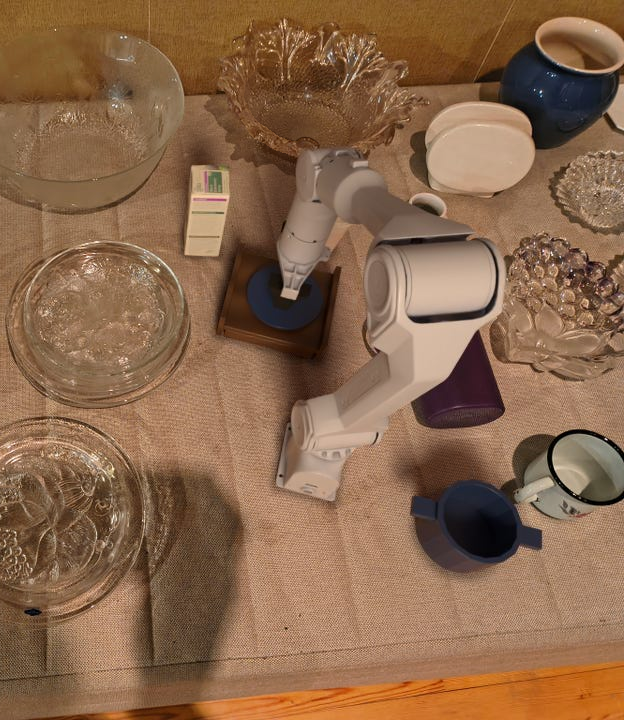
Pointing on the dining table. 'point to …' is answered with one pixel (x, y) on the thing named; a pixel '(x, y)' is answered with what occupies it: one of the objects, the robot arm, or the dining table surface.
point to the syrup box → (206, 210)
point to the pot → (471, 527)
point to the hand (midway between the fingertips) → (285, 285)
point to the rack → (252, 330)
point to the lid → (278, 318)
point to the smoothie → (337, 233)
